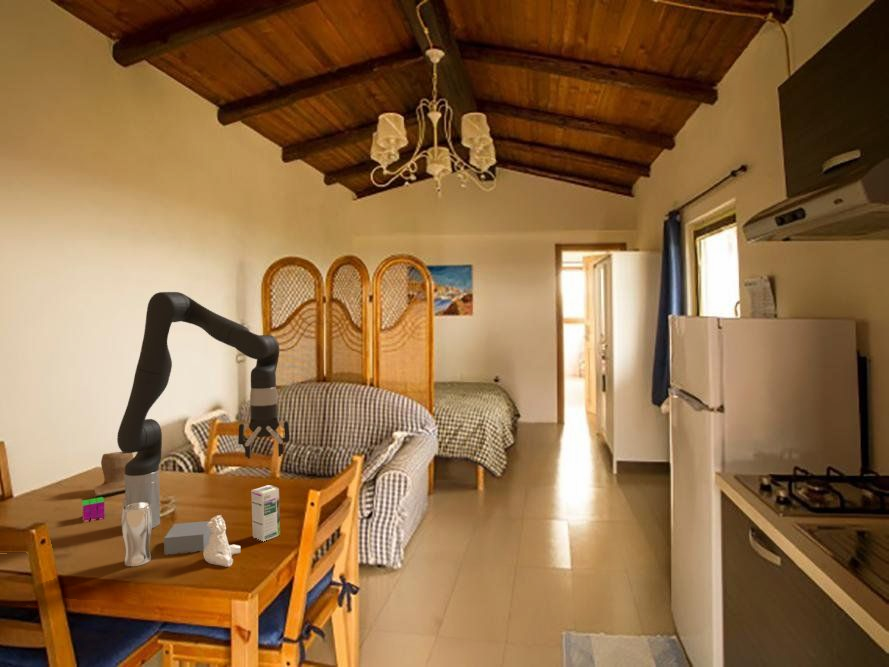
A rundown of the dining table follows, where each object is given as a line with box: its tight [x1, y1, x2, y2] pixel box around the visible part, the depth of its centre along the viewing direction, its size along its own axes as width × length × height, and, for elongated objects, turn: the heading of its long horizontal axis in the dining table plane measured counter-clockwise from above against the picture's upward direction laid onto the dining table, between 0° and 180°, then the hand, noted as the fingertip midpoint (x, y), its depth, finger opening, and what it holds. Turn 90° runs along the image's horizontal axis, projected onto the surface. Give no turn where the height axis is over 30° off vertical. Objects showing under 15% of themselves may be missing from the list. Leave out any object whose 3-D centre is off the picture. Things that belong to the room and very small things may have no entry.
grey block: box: [163, 520, 212, 556], centre depth 146 cm, size 10×10×5 cm
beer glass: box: [121, 502, 153, 567], centre depth 136 cm, size 7×7×15 cm
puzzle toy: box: [81, 496, 106, 522], centre depth 167 cm, size 6×6×6 cm
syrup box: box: [250, 484, 281, 543], centre depth 151 cm, size 6×6×14 cm
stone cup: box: [93, 451, 134, 498], centre depth 193 cm, size 15×12×15 cm
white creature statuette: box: [202, 514, 241, 568], centre depth 137 cm, size 10×9×12 cm
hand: (264, 457), depth 151 cm, fingers open, 8 cm apart
